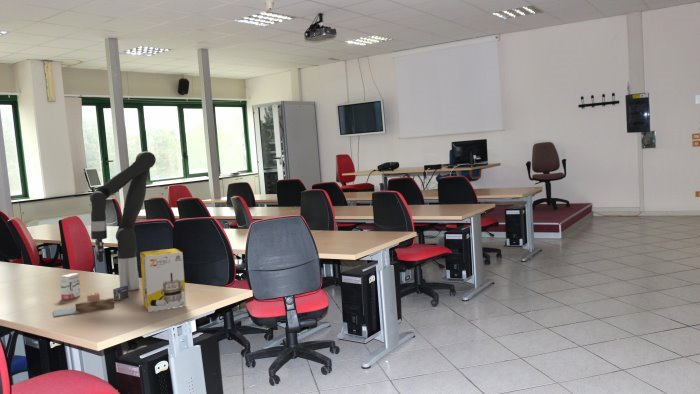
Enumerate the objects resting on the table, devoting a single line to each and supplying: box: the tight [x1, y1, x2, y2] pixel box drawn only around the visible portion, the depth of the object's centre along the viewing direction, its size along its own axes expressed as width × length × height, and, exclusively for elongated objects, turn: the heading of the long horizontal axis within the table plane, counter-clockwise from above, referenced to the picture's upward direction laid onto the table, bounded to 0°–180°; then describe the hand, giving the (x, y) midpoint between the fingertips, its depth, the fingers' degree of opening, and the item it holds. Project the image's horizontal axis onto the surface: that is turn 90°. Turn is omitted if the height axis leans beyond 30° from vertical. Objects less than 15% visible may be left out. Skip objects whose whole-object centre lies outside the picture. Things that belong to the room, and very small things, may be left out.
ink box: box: [59, 272, 81, 300], centre depth 285 cm, size 9×5×12 cm, turn 168°
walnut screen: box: [75, 297, 115, 313], centre depth 257 cm, size 16×2×4 cm, turn 120°
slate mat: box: [52, 306, 80, 318], centre depth 254 cm, size 10×12×1 cm
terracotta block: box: [86, 292, 101, 302], centre depth 263 cm, size 5×5×6 cm
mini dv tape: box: [112, 286, 129, 302], centre depth 275 cm, size 8×2×6 cm, turn 160°
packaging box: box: [139, 248, 187, 313], centre depth 257 cm, size 16×16×25 cm
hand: (99, 260), depth 290 cm, fingers open, 8 cm apart
